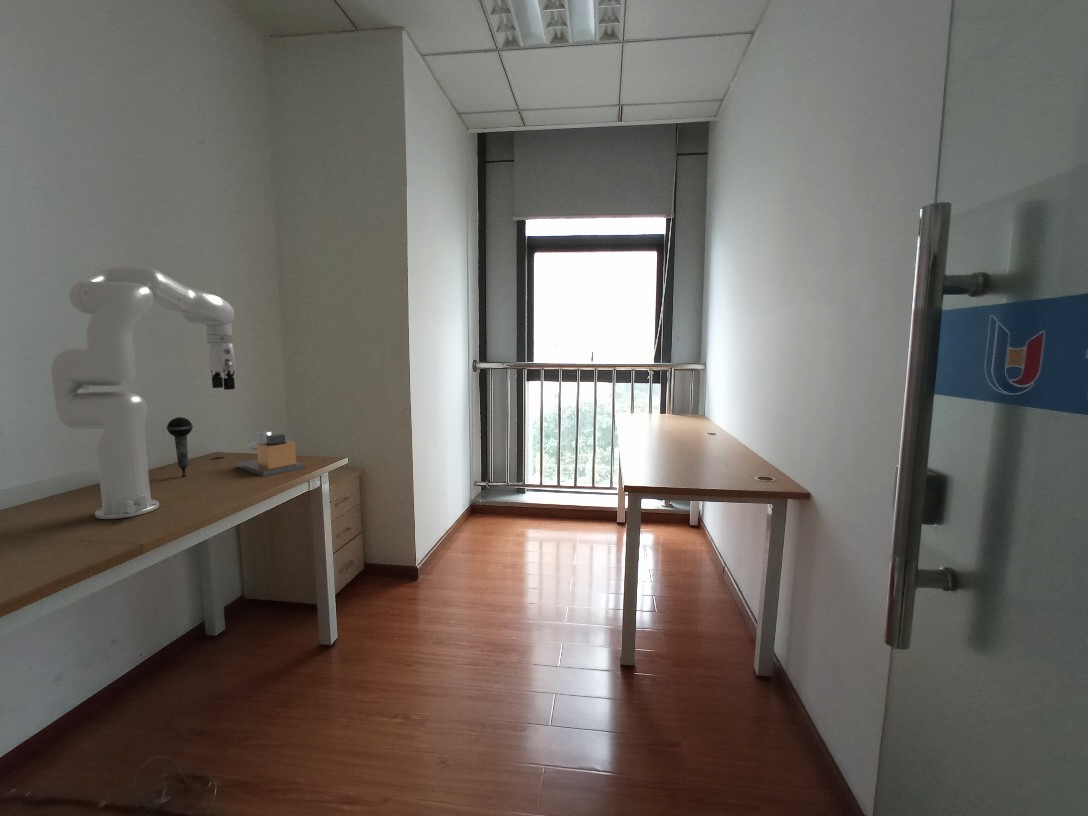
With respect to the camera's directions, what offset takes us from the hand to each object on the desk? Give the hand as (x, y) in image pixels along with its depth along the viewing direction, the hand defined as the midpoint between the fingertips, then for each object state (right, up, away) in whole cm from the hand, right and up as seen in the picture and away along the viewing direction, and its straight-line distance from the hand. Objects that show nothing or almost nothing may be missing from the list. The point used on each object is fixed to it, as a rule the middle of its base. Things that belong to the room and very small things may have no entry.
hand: (223, 388), depth 167 cm
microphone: (-6, -30, -11) cm, 32 cm away
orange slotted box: (+16, -28, +2) cm, 33 cm away
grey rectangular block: (+20, -27, -1) cm, 34 cm away
